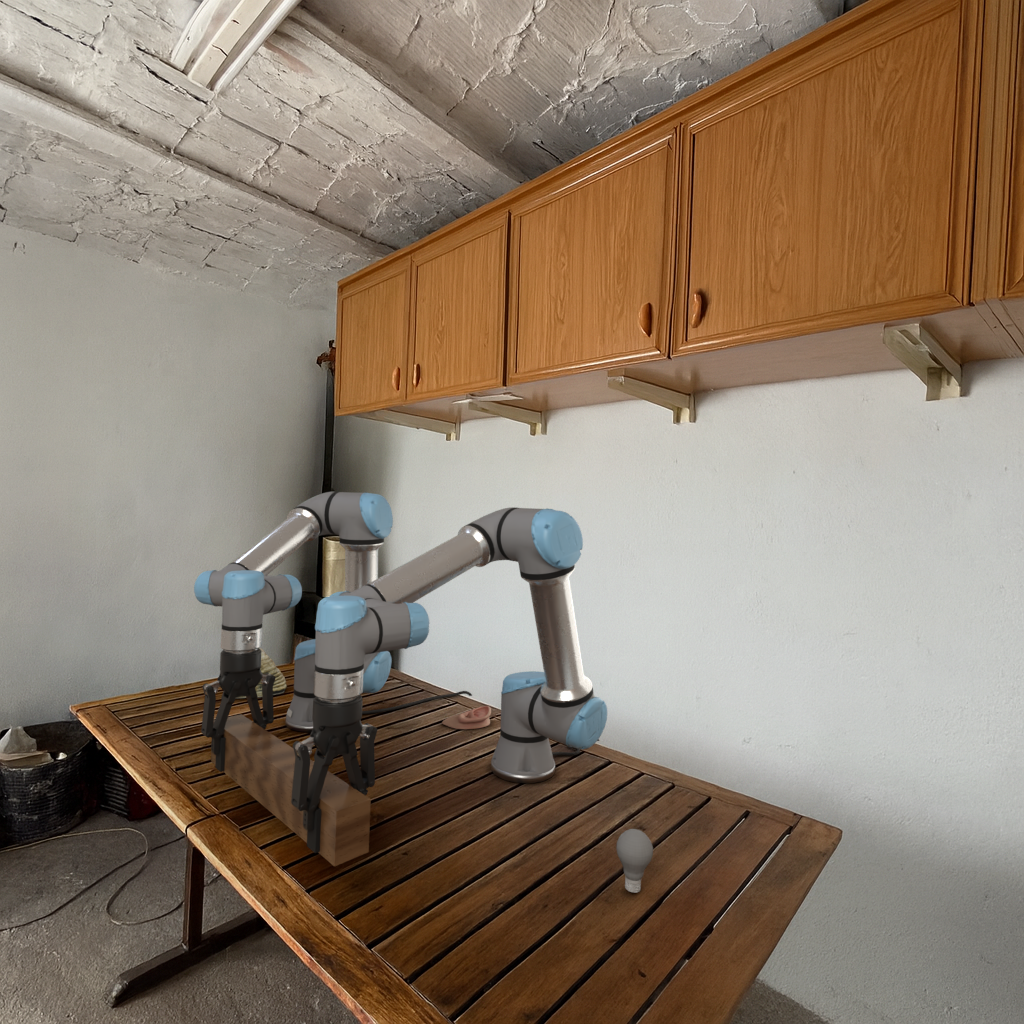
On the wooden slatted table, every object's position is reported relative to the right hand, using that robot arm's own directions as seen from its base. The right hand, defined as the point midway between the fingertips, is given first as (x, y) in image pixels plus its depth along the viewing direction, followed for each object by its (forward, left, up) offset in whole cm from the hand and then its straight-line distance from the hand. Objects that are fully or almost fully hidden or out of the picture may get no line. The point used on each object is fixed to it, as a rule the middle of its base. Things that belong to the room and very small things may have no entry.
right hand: (332, 840), depth 100 cm
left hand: (-4, -37, 0) cm, 37 cm away
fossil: (-44, -102, -9) cm, 111 cm away
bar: (-2, -19, 0) cm, 19 cm away
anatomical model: (-73, -38, -9) cm, 83 cm away
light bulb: (-35, +35, -9) cm, 50 cm away
